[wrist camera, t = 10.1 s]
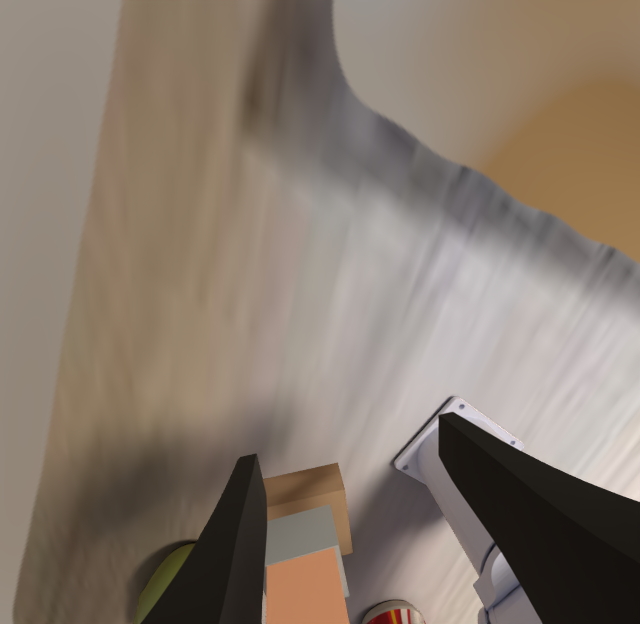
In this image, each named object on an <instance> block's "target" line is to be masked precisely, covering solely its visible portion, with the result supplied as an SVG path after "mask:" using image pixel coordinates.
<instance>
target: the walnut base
mask: <svg viewBox="0 0 640 624" xmlns="http://www.w3.org/2000/svg"><path fill="white" fill-rule="evenodd" d="M263 482H264V487H265V491H266V495H267V521H270V520H274V519H277V518H281V517H285V516H288V515H292V514H296V513H299V512H303V511H307V510H310V509H314V508H318V507H321V506H325V505H329V504H330V506H331V510H332V515H333V520H334V524H335V529H336V533H337V538H338V543H339V547H340V552H341V556H343V555H347V554H351V553H353V549H352V541H351V534H350V526H349V518H348V510H347V503H346V495H345V488H344V485H343V481H342V477H341V473H340V470H339V466H338V463H334V464H330V465H325V466H321V467H316V468H312V469H307V470H303V471H298V472H294V473H289V474H285V475H280V476H276V477H271V478H267V479H263Z"/></svg>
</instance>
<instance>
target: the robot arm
mask: <svg viewBox="0 0 640 624" xmlns="http://www.w3.org/2000/svg"><path fill="white" fill-rule="evenodd" d="M461 404H462V405H461ZM460 405H461V406H460ZM459 406H460V407H459ZM523 448H524V444H523V443H522V442H521V441H520V440H518V439H517V438H516V437H514V436H513V435H511V434H510V433H509V432H507V431H506V430H504V429H503V428H502V427H500V426H499V425H498V424H496V423H495V422H493V421H492V420H491V419H489V418H488V417H486V416H485V415H484V414H482V413H481V412H479V411H478V410H477V409H475V408H474V407H472V406H471V405H470V404H468V403H467V402H466V401H464V400H463V399H461V398H460V397H458V396H455V397H453V398H452V399H451V400H450V401H449V402H448V403H447V404H446V405H445V406H444V407H443V408H442V409H441V411H440V412H439V413H438V414H437V415H436V416H435V417H434V418H433V419H432V420H431V422H430V423H429V424H428V425H427V426H426V427H425V428H424V429H423V430H422V431H421V433H420V434H419V435H418V436H417V437H416V438H415V439H414V440H413V441H412V442H411V443H410V445H409V446H408V447H407V448H406V449H405V450H404V451H403V452H402V453H401V454H400V456H399V457H398V458H397V459H396V460H395V462H394V465H395V467H396V468H397V469H398V470H400V471H402V472H403V473H405V474H407V475H409V476H411V477H412V478H414V479H416V480H418V481H420V482H422V483H423V484H425V485H427V487H428V488H429V490H430V492H431V494H432V495H433V497H434V499H435V501H436V502H437V504H438V506H439V508H440V509H441V511H442V513H443V515H444V516H445V518H446V520H447V522H448V523H449V525H450V527H451V529H452V530H453V532H454V534H455V535H456V537H457V539H458V541H459V542H460V544H461V546H462V548H463V549H464V551H465V553H466V555H467V556H468V558H469V560H470V562H471V563H472V565H473V567H474V569H475V570H476V572H477V574H478V576H479V579H478V580H477V581H476V582H475V583H474V584H473V586H474V588H475V590H476V592H477V594H478V596H479V597H480V599H481V601H482V603H483V605H484V607H482V608H481V609H480V610H479V613H478V624H640V502H638V501H635V500H632V499H629V498H627V497H624V496H621V495H618V494H616V493H613V492H611V491H608V490H605V489H603V488H600V487H598V486H595V485H593V484H590V483H588V482H585V481H583V480H581V479H578V478H576V477H574V476H571V475H569V474H567V473H565V472H563V471H560V470H558V469H556V468H554V467H552V466H550V465H548V464H545V463H543V462H541V461H539V460H537V459H536V458H534V457H532V456H530V455H528V454H526V453H524V452H522V450H523ZM405 465H406V466H405ZM266 540H267V495H266V491H265V487H264V482H263V478H262V474H261V470H260V466H259V462H258V458H257V454H252V455H248V456H243V457H240V458H239V459H238V461H237V463H236V465H235V468H234V470H233V472H232V475H231V477H230V479H229V481H228V483H227V486H226V488H225V490H224V492H223V494H222V496H221V498H220V500H219V502H218V504H217V506H216V508H215V510H214V512H213V513H212V515H211V517H210V519H209V521H208V523H207V524H206V526H205V528H204V530H203V531H202V533H201V535H200V537H199V538H198V540H197V542H196V543H195V545H194V547H193V548H192V550H191V552H190V553H189V555H188V556H187V558H186V560H185V561H184V563H183V564H182V566H181V567H180V569H179V570H178V572H177V573H176V575H175V576H174V578H173V579H172V581H171V582H170V584H169V585H168V586H167V588H166V589H165V591H164V592H163V593H162V595H161V596H160V598H159V599H158V601H157V602H156V603H155V605H154V606H153V607H152V609H151V610H150V611H149V613H148V614H147V615H146V617H145V618H144V619H143V621H142V622H141V623H140V624H262V597H263V583H264V569H265V555H266Z"/></svg>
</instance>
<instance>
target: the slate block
mask: <svg viewBox="0 0 640 624" xmlns="http://www.w3.org/2000/svg"><path fill="white" fill-rule="evenodd" d="M331 548H334V549H335V554H336V559H337V563H338V568H339V573H340V578H341V583H342V588H343V593H344V598H346V597H350V596H349V591H348V586H347V581H346V576H345V572H344V567H343V562H342V557H341V552H340V547H339V543H338V538H337V533H336V529H335V524H334V520H333V515H332V510H331V506H330V504H329V505H325V506H321V507H318V508H314V509H310V510H307V511H303V512H299V513H296V514H292V515H288V516H285V517H281V518H277V519H274V520H270V521H267V540H266V555H265V569H264V583H263V589H264V592H265V595H266V597H267V566H270V565H274V564H277V563H281V562H284V561H288V560H291V559H295V558H298V557H302V556H306V555H309V554H313V553H316V552H320V551H323V550H327V549H331Z"/></svg>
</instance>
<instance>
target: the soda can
mask: <svg viewBox="0 0 640 624" xmlns="http://www.w3.org/2000/svg"><path fill="white" fill-rule="evenodd" d="M362 624H426V623H425V621H424V618H423V616H422V614H421V613H420V612H419V611H418V610H417V609H416V608H415V607H414V606H413V605H411V604H410V603H408V602H406V601H400V600H393V601H388V602H384V603H381V604H379V605H377V606H376V607H374V608H373V609H371V610H370V611H369V612H368V613H367V614H366V615H365V617H364V619H363V621H362Z"/></svg>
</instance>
